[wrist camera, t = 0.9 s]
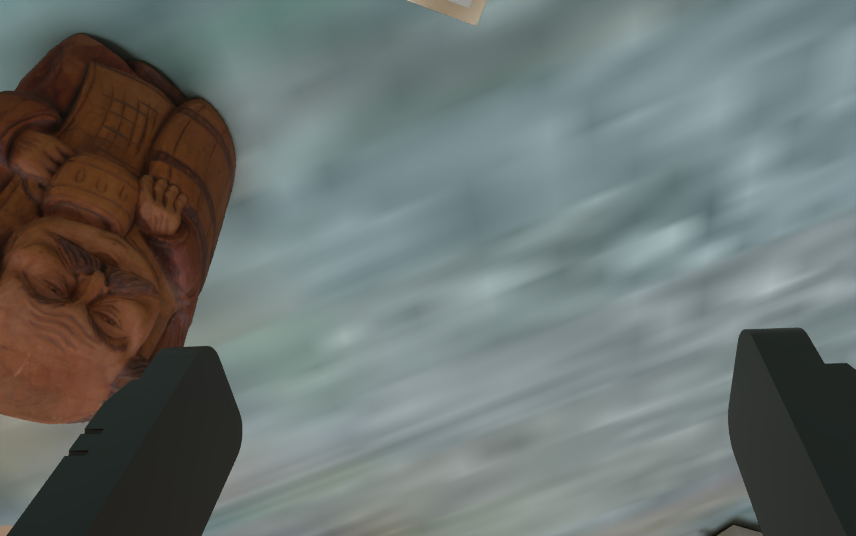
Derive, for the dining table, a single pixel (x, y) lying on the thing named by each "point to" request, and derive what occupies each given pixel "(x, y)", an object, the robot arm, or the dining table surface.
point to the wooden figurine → (100, 226)
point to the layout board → (456, 8)
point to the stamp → (739, 532)
